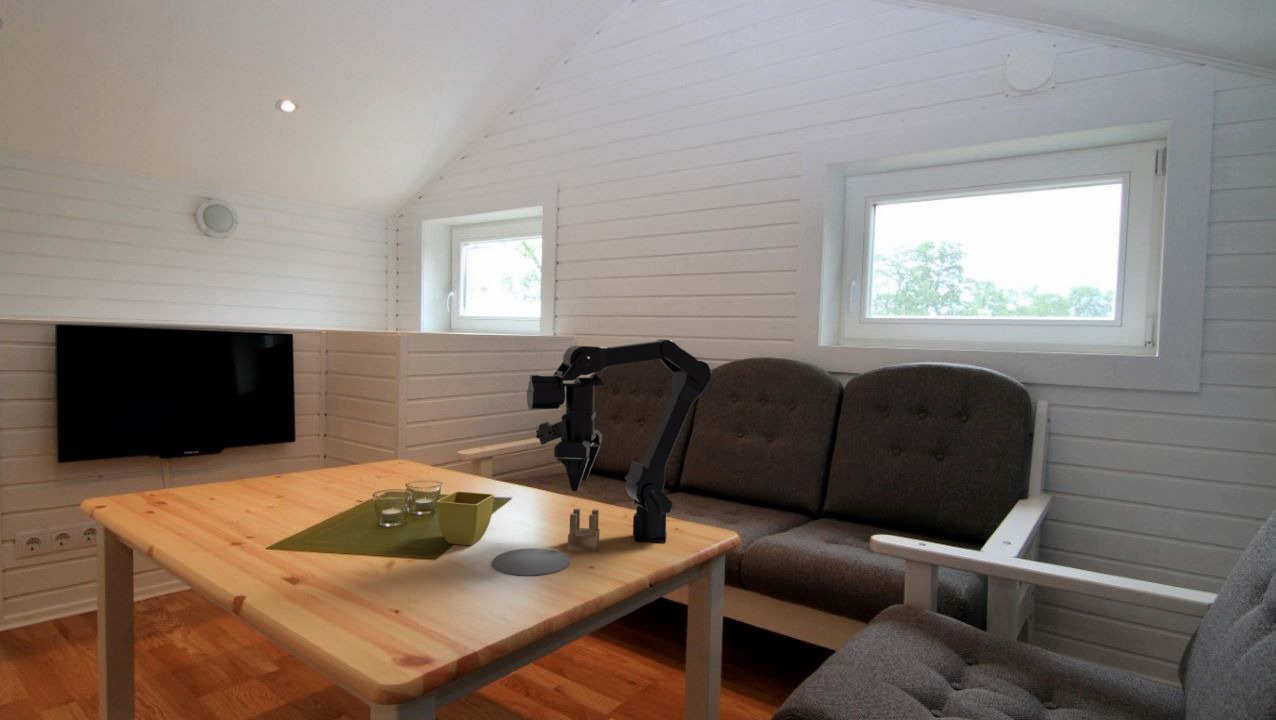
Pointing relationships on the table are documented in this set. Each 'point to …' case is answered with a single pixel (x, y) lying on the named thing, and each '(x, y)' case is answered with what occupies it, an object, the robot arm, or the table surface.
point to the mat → (531, 562)
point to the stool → (583, 532)
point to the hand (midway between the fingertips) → (579, 485)
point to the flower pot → (464, 516)
